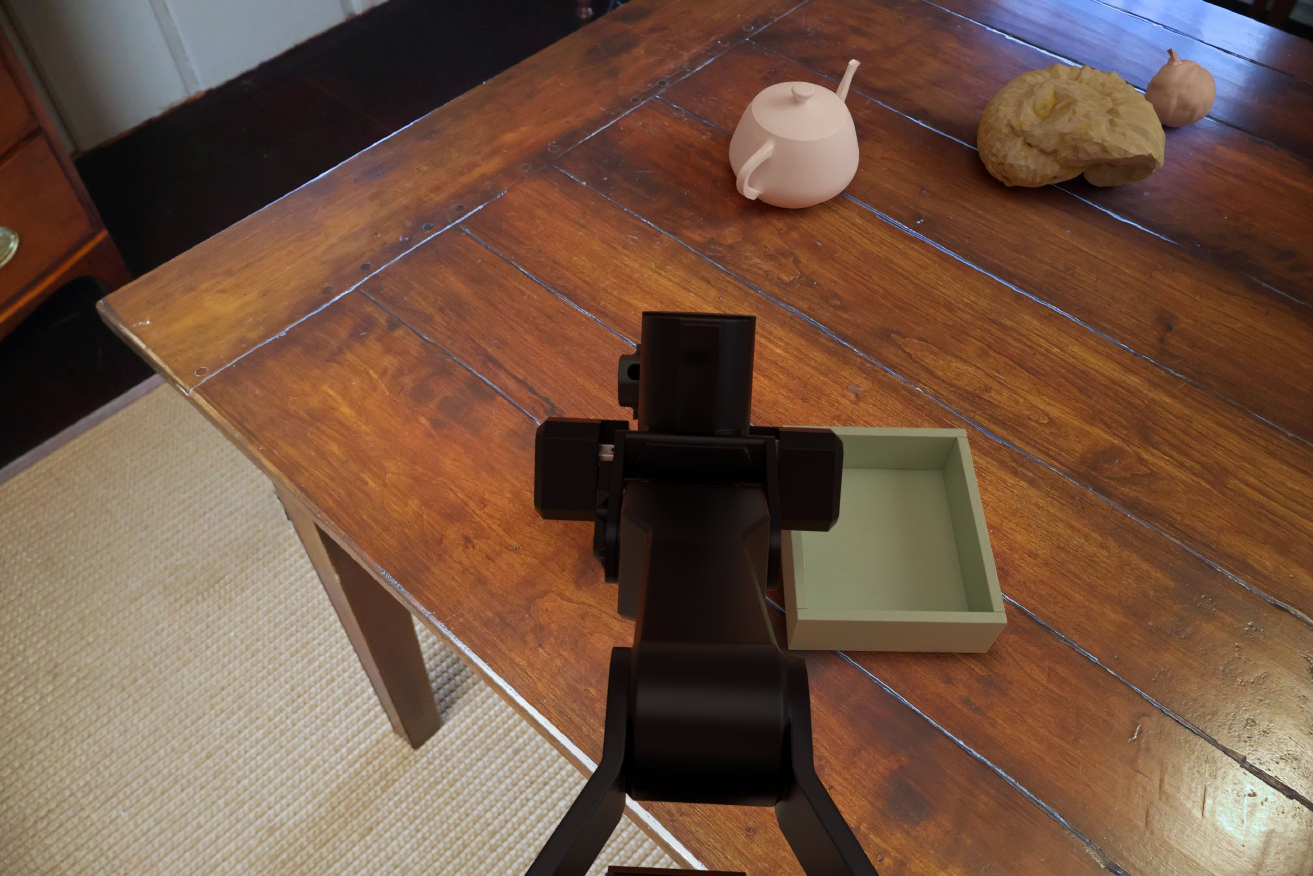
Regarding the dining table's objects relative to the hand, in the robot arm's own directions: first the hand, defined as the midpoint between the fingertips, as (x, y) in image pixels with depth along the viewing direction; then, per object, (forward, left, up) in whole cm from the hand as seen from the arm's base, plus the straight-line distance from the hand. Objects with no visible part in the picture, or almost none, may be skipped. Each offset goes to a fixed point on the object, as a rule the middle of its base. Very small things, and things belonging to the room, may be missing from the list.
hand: (685, 451), depth 68 cm
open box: (-4, -14, -6) cm, 16 cm away
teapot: (+38, -11, -6) cm, 40 cm away
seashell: (+39, -37, -6) cm, 54 cm away
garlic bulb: (+48, -51, -6) cm, 70 cm away
